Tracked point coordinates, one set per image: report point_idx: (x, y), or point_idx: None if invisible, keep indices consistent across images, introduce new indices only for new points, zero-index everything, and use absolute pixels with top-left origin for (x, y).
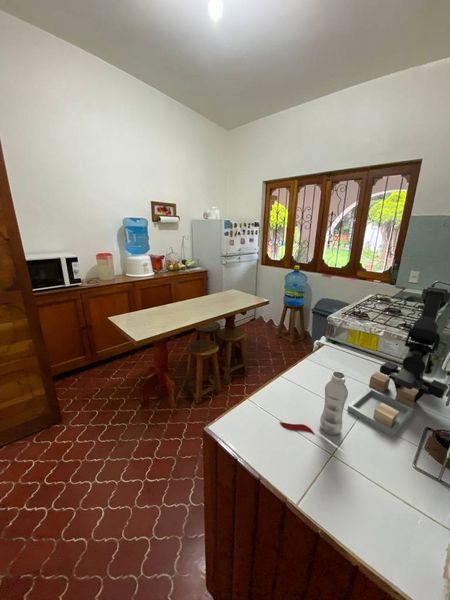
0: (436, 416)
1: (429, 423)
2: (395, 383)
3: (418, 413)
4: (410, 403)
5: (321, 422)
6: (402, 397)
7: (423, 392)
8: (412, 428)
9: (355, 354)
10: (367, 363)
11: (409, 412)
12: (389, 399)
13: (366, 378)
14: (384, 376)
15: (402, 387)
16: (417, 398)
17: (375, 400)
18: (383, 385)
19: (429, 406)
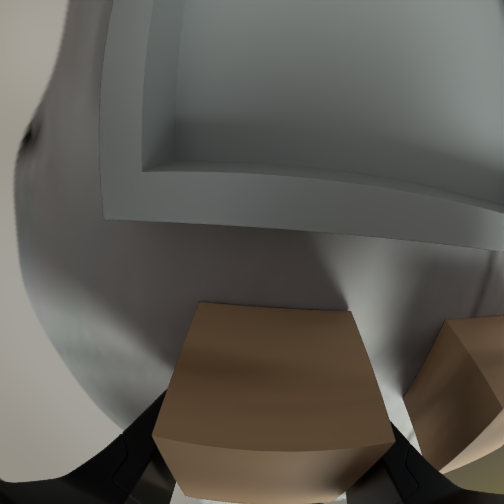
0: (66, 327)
1: (41, 205)
2: (428, 479)
3: (129, 273)
4: (203, 335)
5: None
6: (300, 364)
7: (4, 501)
8: (100, 9)
9: None
10: None
11: (113, 81)
12: (432, 195)
13: None
14: (471, 456)
15: (337, 479)
16: (150, 419)
17: (492, 137)
18: (488, 376)
19: (139, 396)
